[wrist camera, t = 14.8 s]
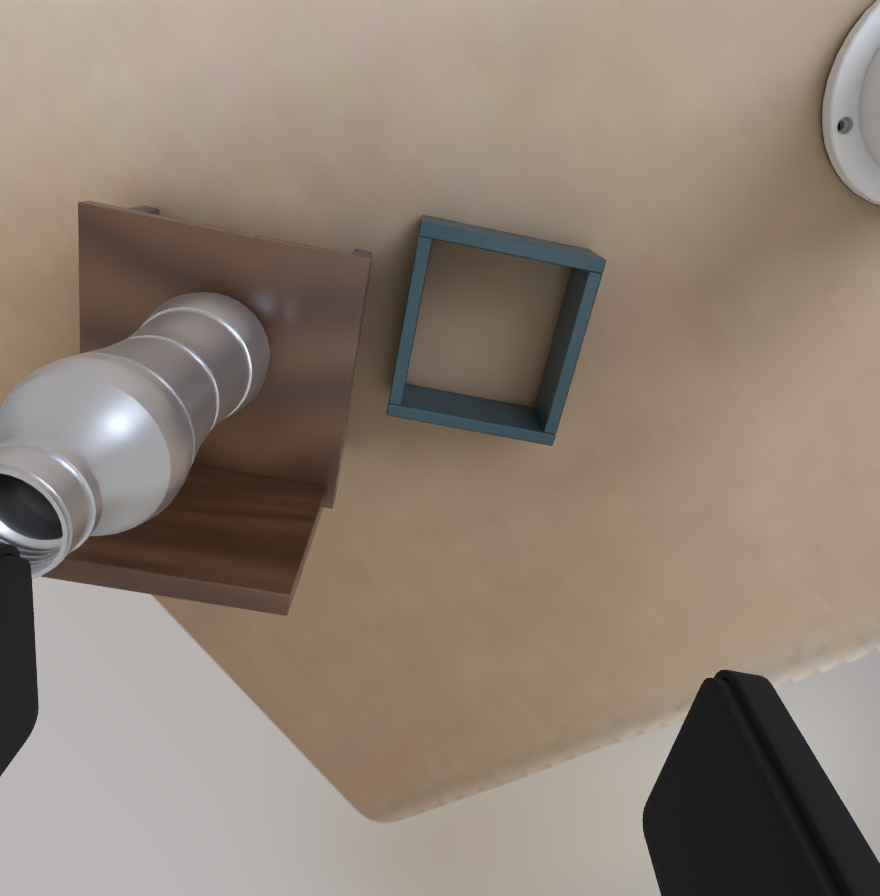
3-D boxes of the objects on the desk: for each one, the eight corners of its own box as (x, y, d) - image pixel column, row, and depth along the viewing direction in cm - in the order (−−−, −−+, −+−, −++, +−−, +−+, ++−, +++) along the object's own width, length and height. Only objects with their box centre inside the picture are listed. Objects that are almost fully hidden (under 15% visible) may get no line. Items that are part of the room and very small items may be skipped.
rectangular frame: (422, 214, 41) (421, 220, 37) (590, 249, 42) (606, 259, 38) (390, 392, 45) (386, 415, 41) (542, 420, 46) (552, 446, 42)
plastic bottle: (135, 348, 37) (-166, 534, 19) (207, 256, 35) (-48, 362, 17) (230, 423, 39) (41, 661, 20) (304, 340, 37) (169, 520, 18)
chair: (135, 195, 40) (-76, 219, 24) (380, 245, 42) (342, 302, 25) (130, 423, 46) (-41, 570, 30) (346, 461, 47) (297, 623, 31)
